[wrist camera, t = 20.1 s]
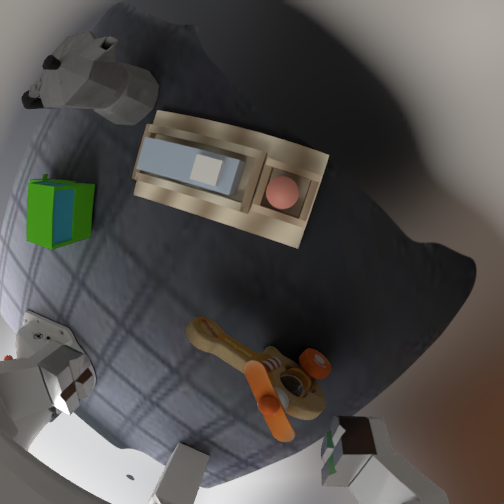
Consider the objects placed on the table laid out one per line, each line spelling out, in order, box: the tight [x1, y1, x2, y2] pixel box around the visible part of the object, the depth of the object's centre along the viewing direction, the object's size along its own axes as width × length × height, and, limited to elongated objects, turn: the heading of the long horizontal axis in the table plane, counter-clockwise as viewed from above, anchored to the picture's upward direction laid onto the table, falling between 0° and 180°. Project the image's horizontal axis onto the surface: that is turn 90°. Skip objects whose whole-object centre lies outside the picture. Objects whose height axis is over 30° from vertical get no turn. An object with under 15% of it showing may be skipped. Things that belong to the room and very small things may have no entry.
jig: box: [132, 110, 329, 249], centre depth 33 cm, size 23×12×4 cm, turn 73°
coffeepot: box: [22, 31, 159, 125], centre depth 25 cm, size 15×9×18 cm, turn 101°
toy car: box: [27, 174, 95, 250], centre depth 34 cm, size 10×13×10 cm
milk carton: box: [149, 442, 210, 504], centre depth 39 cm, size 7×7×19 cm
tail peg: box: [266, 176, 299, 209], centre depth 29 cm, size 3×3×8 cm
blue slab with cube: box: [136, 137, 246, 195], centre depth 32 cm, size 12×4×5 cm, turn 73°
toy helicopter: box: [185, 316, 332, 442], centre depth 33 cm, size 8×21×14 cm, turn 56°
